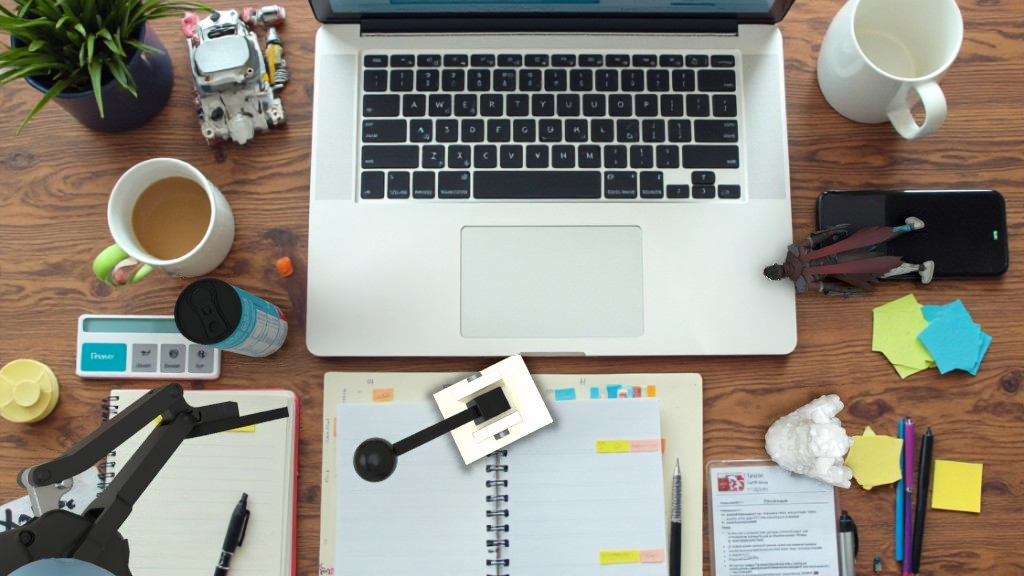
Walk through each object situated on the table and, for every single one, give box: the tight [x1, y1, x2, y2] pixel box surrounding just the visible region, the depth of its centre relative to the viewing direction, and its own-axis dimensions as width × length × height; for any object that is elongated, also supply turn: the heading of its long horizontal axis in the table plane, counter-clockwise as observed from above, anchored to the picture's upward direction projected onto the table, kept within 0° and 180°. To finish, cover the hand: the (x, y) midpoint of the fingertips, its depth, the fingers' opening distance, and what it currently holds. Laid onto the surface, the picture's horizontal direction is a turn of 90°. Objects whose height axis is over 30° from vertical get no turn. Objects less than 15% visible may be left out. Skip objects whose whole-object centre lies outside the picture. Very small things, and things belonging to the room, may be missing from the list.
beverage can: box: [173, 277, 289, 358], centre depth 75 cm, size 6×6×15 cm
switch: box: [352, 386, 511, 484], centre depth 65 cm, size 14×4×4 cm, turn 115°
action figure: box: [762, 216, 935, 301], centre depth 80 cm, size 8×6×18 cm
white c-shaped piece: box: [432, 354, 554, 466], centre depth 73 cm, size 10×8×15 cm
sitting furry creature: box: [764, 393, 855, 490], centre depth 74 cm, size 10×9×12 cm
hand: (295, 508), depth 55 cm, fingers open, 13 cm apart
